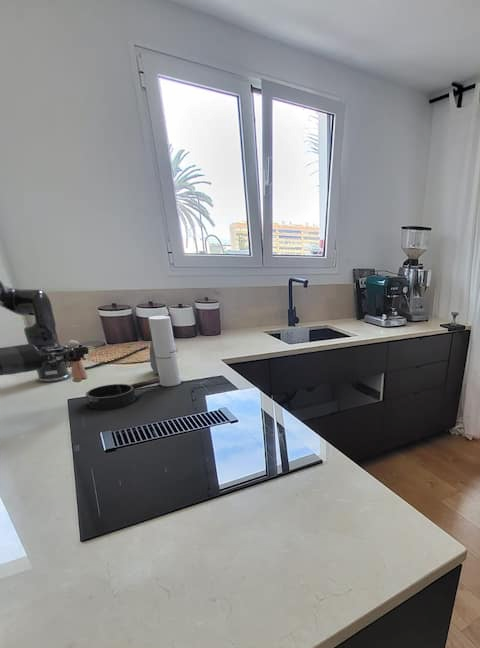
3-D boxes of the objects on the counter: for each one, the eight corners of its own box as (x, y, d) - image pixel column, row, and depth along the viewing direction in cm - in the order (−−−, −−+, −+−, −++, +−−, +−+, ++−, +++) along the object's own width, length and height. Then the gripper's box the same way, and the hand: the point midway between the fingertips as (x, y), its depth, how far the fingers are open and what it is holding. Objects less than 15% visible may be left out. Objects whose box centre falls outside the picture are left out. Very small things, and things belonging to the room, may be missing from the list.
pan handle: (131, 390, 136) (130, 385, 135) (128, 389, 137) (127, 384, 136) (161, 382, 144) (160, 378, 143) (158, 381, 145) (157, 377, 144)
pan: (99, 395, 138) (96, 384, 136) (141, 393, 140) (138, 383, 138) (81, 410, 125) (78, 398, 124) (127, 408, 128) (124, 397, 126)
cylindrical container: (184, 382, 153) (174, 317, 143) (169, 387, 147) (157, 319, 137) (171, 379, 155) (160, 315, 145) (156, 384, 149) (143, 317, 140)
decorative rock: (151, 369, 166) (144, 334, 160) (167, 367, 170) (161, 332, 164) (158, 380, 154) (151, 342, 148) (176, 377, 158) (170, 340, 152)
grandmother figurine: (80, 383, 121) (71, 343, 116) (67, 383, 121) (57, 342, 115) (93, 375, 128) (85, 337, 123) (81, 375, 128) (72, 336, 122)
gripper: (22, 350, 105) (92, 340, 118) (3, 342, 112) (71, 333, 125) (30, 377, 108) (98, 364, 121) (11, 367, 115) (77, 356, 128)
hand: (84, 349), depth 123 cm, fingers closed on grandmother figurine, 3 cm apart
